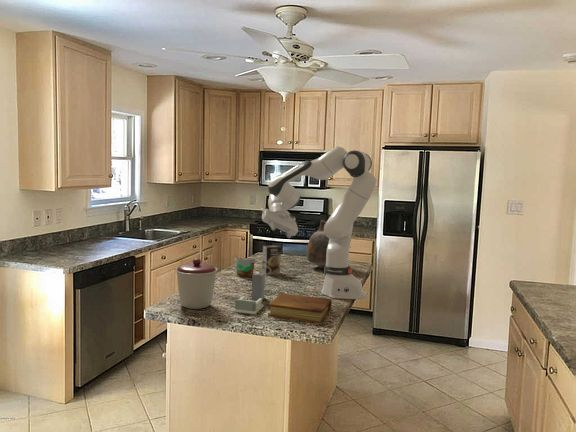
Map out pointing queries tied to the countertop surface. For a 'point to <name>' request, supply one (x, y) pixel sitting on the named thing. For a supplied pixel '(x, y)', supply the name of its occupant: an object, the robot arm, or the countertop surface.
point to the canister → (196, 284)
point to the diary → (300, 307)
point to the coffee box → (271, 259)
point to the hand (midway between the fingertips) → (281, 233)
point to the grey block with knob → (258, 285)
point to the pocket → (247, 305)
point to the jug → (318, 247)
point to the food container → (244, 266)
